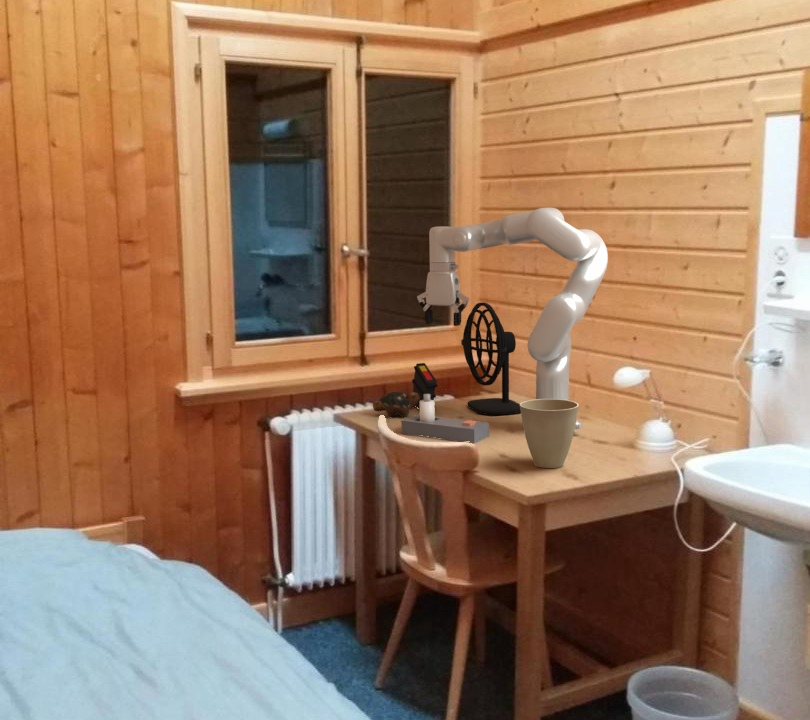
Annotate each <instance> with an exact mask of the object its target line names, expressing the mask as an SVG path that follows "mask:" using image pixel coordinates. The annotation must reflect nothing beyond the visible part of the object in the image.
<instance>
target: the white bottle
mask: <svg viewBox="0 0 810 720" xmlns="http://www.w3.org/2000/svg"><path fill="white" fill-rule="evenodd" d="M435 402H436V401H435V399H434V400H430V394H424V400H421V401H420V410H419V415H420V421H422V422H430V423H431V422H433V421H435V417H436V412H435V411H436V410H435V409H436V405H435Z"/></svg>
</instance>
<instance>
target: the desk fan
mask: <svg viewBox="0 0 810 720" xmlns="http://www.w3.org/2000/svg"><path fill="white" fill-rule="evenodd" d="M482 306H483V307H485V308H486V309H483V310H481V309H479V308H481V307H482ZM487 312H488V313H489V314H490V316H491V319H492V320H490V322H489V320H488V317H487V316H486V313H487ZM476 313H478V314H479V317H477V322H476V321H474V317H475V314H476ZM482 320H483V321H484V325H485V326H486V334H485V335H486V336H485V338H486V339H485V338H482V333H481V331H480V327H481V323H482ZM473 325H474V327H475V337H472V331H473V330H472V328H473ZM492 325H494V328H495V335H496V336H495V337H496V338H495V340H493V336H492V330H491V326H492ZM462 335H463V336H462V339H461V341H460V342H461V343H460V344H461V346H462V348H463V353H464V358H465V361H466V363H467V366H468V367H469V370H470V373H471V375H472V376H473V379H474V380H475V381H476V382H477V383H478V384H480V385H482V386H491V385H493V384H494V383H495V381H496V380H497V378H498V377H499V375H500V373H501V397H491V398H481V399H480V398H476V399H472V400H468V401H467V403H466V406H467V408H469V407H470V408H469V409H471V410H474V411H475V412H477V413H478V414H482V415H489V416H490V415H491V416H495V415H496V416H498V415H509V414H519V413H521V410H520V403H518V402H516V401H514V400H512V399H510V388H509V387H510V368H509V367H510V354H511V353H514V352H515V350H516V345H517V343H516V341H517V340H516V336H515V334H514V333H513V332H512V331H505V329H504V326H503V325H502V323H501V321H500V318H499V317H498V314H497V313H496V311H495V309H494V308H493V307H492V305H491V304H489V303H488V302H484V301H483V302H477V303H475V305H474V306H473V308H472V310H471V311H470V313H469V314H468V317H467V319H466V323H465V326H464V330H463V334H462ZM472 342H475V346H472V345H473V344H472ZM483 343H485V346H486V348H483ZM494 345H495V346H496V349H494V347H493V346H494ZM473 351H476V357H477V363H476V364H475V361H474V356H473V355H474V354H473ZM483 353H487V356H488V362H487V367H486V368H485V366H484V364H483V360H482V359H483V358H482V355H483ZM493 354H497V355H496V363H495V362H494V360H493V357H494V356H493ZM492 366H494V371H493V373H492V374H491V375H490V371H491V369H492ZM479 367H480V369H481V372H482V373H483V375H481V376H480V374H479V372H478V370H477V368H479ZM485 378H488V379H487V380H486V381H484V380H483V379H485Z"/></svg>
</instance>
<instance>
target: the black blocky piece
mask: <svg viewBox="0 0 810 720" xmlns="http://www.w3.org/2000/svg"><path fill="white" fill-rule="evenodd" d="M413 369H414V373H413V374H414V376H413V379H411V382H412V384H413V385H412V386H413V387H412V392H415V393H418V395H419V397H420V399H419V400H418V401H419V402H418V403H417V405H416V407H418V408H419V409H420V401H421V400H424V394H430V400H434V401H435V398H436V397H437V395H436V394H435V392H436V388H438V384H437V379H436V378H435V377H434V375H433V374H432V372H431V370H430V369H429V367H428V365H427V364H426V363H425V362H420V363H418V362H417V363H416V365H414V366H413ZM419 409H418V410H419Z"/></svg>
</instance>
